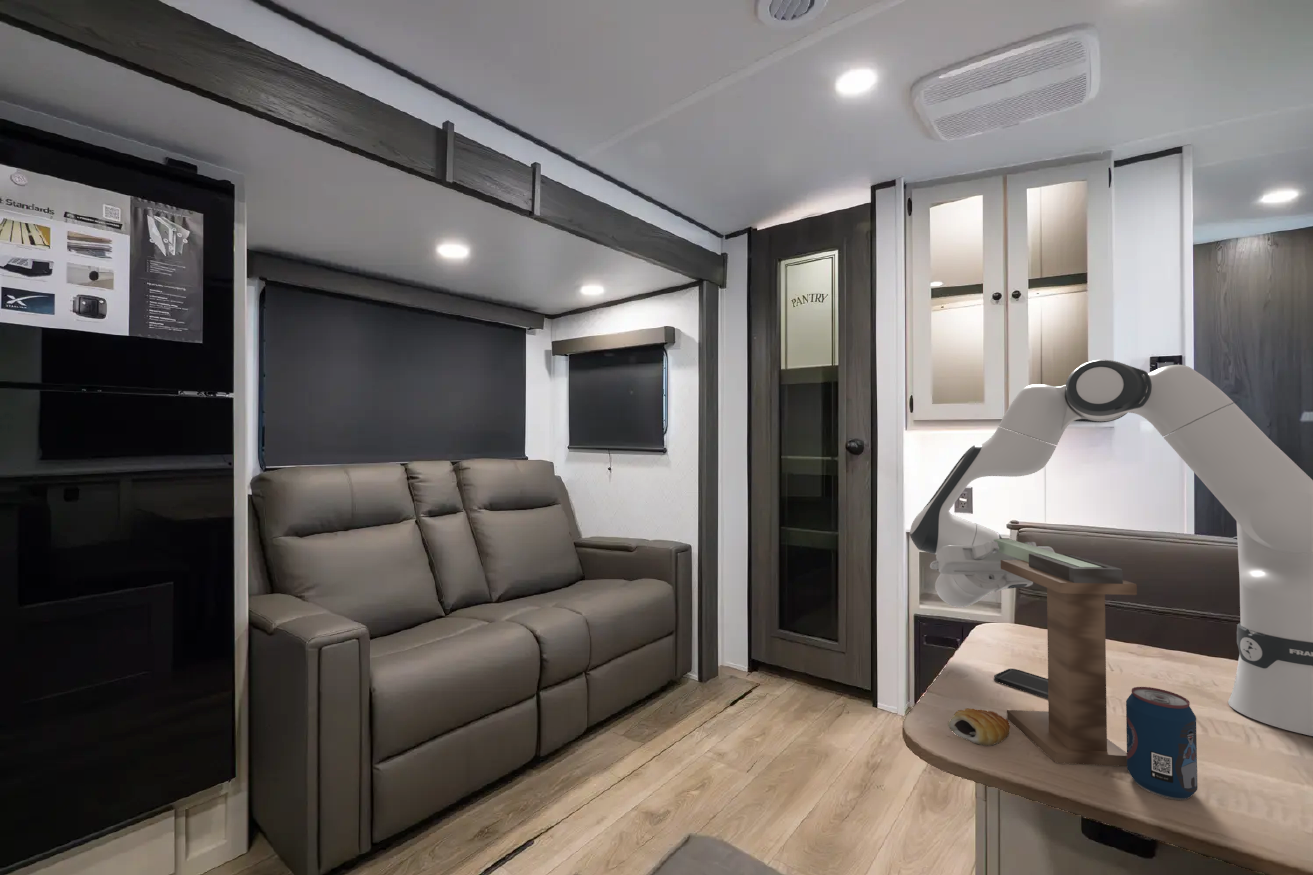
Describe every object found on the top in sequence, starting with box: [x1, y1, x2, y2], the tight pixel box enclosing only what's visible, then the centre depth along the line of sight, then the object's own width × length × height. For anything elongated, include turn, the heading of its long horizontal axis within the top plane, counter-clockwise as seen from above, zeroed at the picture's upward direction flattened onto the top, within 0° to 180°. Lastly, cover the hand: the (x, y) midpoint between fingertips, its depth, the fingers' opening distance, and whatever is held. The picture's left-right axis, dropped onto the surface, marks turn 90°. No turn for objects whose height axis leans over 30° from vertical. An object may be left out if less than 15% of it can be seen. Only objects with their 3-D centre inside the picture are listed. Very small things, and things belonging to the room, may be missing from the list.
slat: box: [994, 538, 1102, 568], centre depth 91 cm, size 3×24×2 cm, turn 175°
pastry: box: [947, 707, 1011, 747], centre depth 88 cm, size 9×7×4 cm
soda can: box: [1125, 686, 1198, 801], centre depth 74 cm, size 7×7×12 cm
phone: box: [993, 668, 1048, 700], centre depth 104 cm, size 8×1×15 cm
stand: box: [1001, 553, 1138, 768], centre depth 86 cm, size 10×16×28 cm, turn 175°
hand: (1013, 545), depth 100 cm, fingers open, 5 cm apart
